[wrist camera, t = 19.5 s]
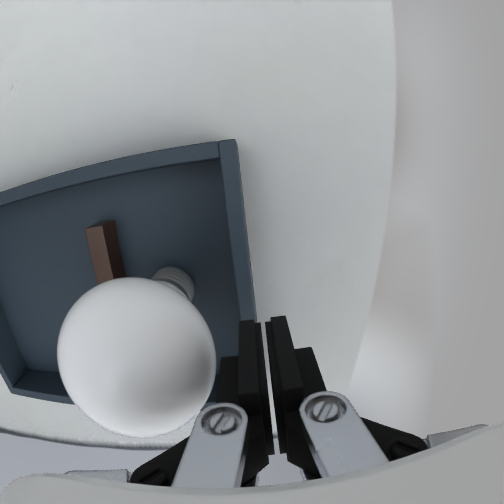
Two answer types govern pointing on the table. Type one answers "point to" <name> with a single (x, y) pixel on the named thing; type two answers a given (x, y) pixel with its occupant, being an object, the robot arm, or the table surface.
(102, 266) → the strip
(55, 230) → the tray
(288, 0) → the table surface
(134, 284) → the lightbulb
